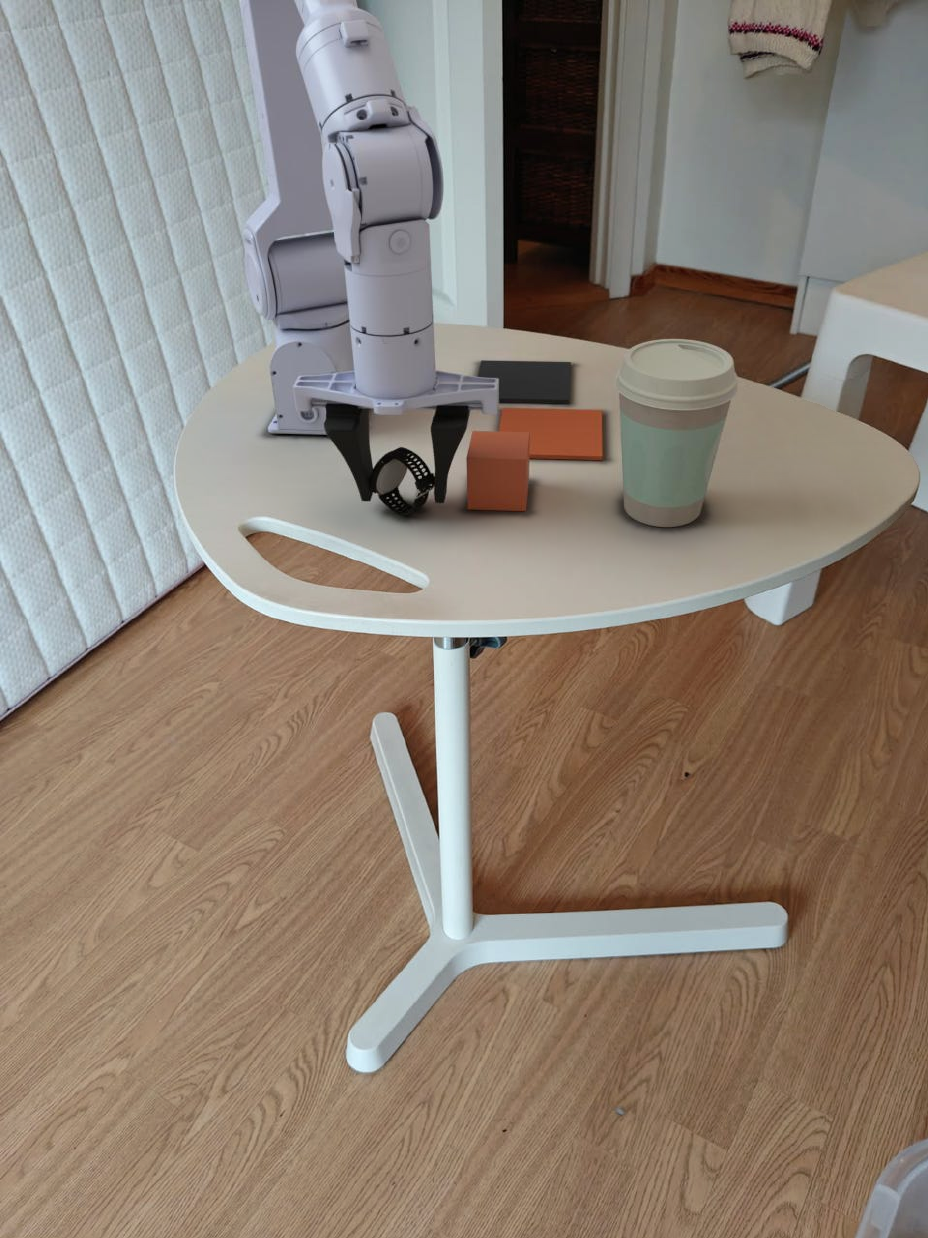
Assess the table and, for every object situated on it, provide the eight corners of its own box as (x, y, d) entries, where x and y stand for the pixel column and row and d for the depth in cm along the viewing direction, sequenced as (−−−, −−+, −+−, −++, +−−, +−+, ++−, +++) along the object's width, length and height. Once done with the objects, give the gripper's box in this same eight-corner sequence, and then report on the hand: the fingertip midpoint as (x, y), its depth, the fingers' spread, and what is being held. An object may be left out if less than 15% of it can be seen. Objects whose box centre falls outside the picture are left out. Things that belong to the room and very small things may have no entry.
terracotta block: (525, 511, 75) (526, 459, 73) (467, 509, 76) (466, 457, 73) (528, 482, 79) (529, 431, 76) (473, 481, 79) (472, 430, 77)
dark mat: (569, 403, 91) (569, 399, 90) (472, 401, 92) (472, 397, 91) (570, 365, 98) (571, 361, 98) (481, 363, 99) (481, 360, 98)
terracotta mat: (602, 460, 82) (602, 456, 81) (494, 457, 82) (494, 453, 82) (601, 413, 89) (602, 409, 89) (502, 411, 90) (502, 407, 89)
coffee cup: (724, 539, 71) (749, 384, 64) (606, 535, 72) (618, 382, 65) (713, 482, 78) (734, 336, 71) (605, 479, 79) (615, 334, 72)
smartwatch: (413, 491, 78) (409, 434, 75) (441, 521, 74) (438, 462, 71) (365, 504, 77) (359, 446, 74) (391, 535, 73) (386, 475, 70)
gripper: (273, 342, 64) (299, 520, 72) (494, 344, 63) (495, 525, 71) (297, 304, 70) (318, 474, 78) (500, 306, 69) (500, 478, 77)
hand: (403, 495), depth 75 cm, fingers closed on smartwatch, 5 cm apart
